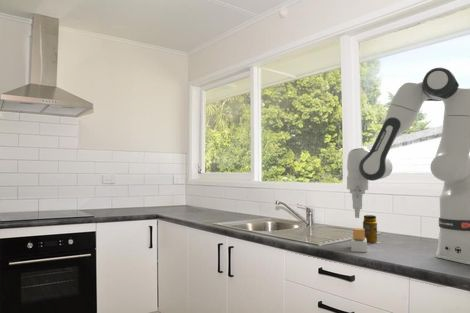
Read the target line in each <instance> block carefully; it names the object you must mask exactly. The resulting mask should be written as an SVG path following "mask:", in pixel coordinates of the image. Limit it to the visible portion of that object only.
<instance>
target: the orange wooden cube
mask: <svg viewBox="0 0 470 313" xmlns="http://www.w3.org/2000/svg"><path fill="white" fill-rule="evenodd" d="M352 234H353V235H352V237H353V239H357V240H365V230H364V229H363V227H362V228H360V227H358V228H356V227H353V229H352Z"/></svg>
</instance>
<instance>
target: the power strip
mask: <svg viewBox="0 0 470 313" xmlns="http://www.w3.org/2000/svg"><path fill="white" fill-rule="evenodd" d="M350 239H351V240H350V243H351V244H350V246H351V247H350V250H351V252H357V253H359V252H360V253H368V244H367V239H366V238H365V240H357V239H353V236H351V238H350Z"/></svg>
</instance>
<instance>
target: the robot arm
mask: <svg viewBox="0 0 470 313" xmlns="http://www.w3.org/2000/svg"><path fill="white" fill-rule="evenodd" d="M425 101H426V102H429V101H430V102H431V101H432V102H441V101H442V102H443V104H444V113H443V121H442V131H441V138H440V141H439V144H438V148H437V151H436V154H435V157H434V158H433V159H432V161H431V163H430V171H431V174H432V175H433V177H434V178H436V179H438V180H440V181H442V182H444V183H443V187H442V191H441V194H440V196H439V217H438V227H439V234H438V239H437V240H438V241H437V247H436V248H437V249H436V253H435V257H436V258H439V259H443V260H447V261H451V262H456V263H461V264H465V265H470V87H462V86H460V84H459V82H458V81H457V79H456V77H455V75H454V74H453V73H452V71H450V69H448V68H447V67H446V68H445V67H441V66H440V67H434V68H431V69H430V70H428V71H427V72H426V73H425V74H424V76H423V78H422V80H421V81H419V82H416V81H409V80H408V81H405V82H403V83H402V84H401V85H400V87H399V88H398V90H397V91H396V93H395V95H394V96H393V98H392V101H391V103H390V104H389V107H388V110H387V112H386V116H385V118H384V120H383V124H382V125H381V128H380V130H379V133H378V135H377V137H376V139H375V141H374V143H373V145H372V146H371V149H370V150H369V149H367V148H366V147H361V148H360V147H359V148H353V149H351V150H350V151H349V152H348V155H347V163H346V170H347V176H346V190H348V191H349V194H351V198H352V199H351V200H352V209H353V210H354V218H356V219H359V218H360V211H361V210H362V209H363V195H365V194H366V191H368V190H369V181H377V180H382V179H385V178H388V176H390V175H391V173H392V171H393V164H392V162H391V160H390V159H388V158H387V156H388V154H389V152H390V151H391V148H392V146H393V144H394V142H395V140H396V139H397V137H398V136H399V135H400V134H402V133H403V132H406V131H407V130H409V129H410V128H411V126H412V125H414V123H415V121H416V118H417V117H418V115H419V112H420V110H421V108H422V106H423V104H424V102H425Z"/></svg>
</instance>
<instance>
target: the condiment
mask: <svg viewBox="0 0 470 313" xmlns="http://www.w3.org/2000/svg"><path fill="white" fill-rule="evenodd" d="M362 228H363V229H364V230H365V238H366V239H367V245H368V244H380V243H382V242H381V241H378V222H377V216H376V215H372V214H370V215H369V214H365V215H363V221H362Z"/></svg>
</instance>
